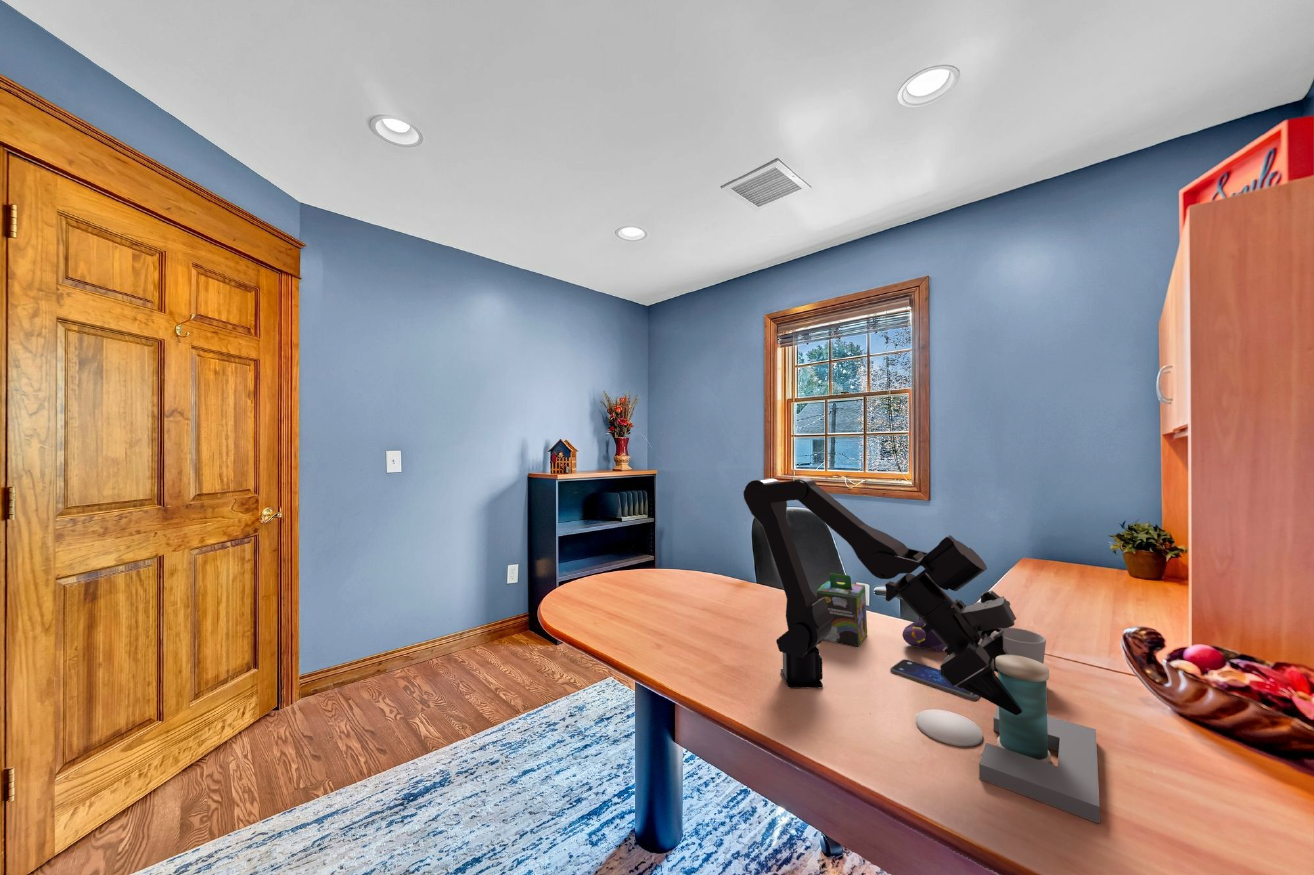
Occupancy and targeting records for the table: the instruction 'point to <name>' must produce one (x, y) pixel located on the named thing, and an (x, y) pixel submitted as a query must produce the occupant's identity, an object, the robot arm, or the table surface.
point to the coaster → (949, 727)
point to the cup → (1024, 643)
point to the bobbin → (1024, 707)
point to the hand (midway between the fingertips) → (1022, 699)
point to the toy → (922, 637)
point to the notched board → (1050, 769)
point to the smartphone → (928, 677)
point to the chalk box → (845, 610)
